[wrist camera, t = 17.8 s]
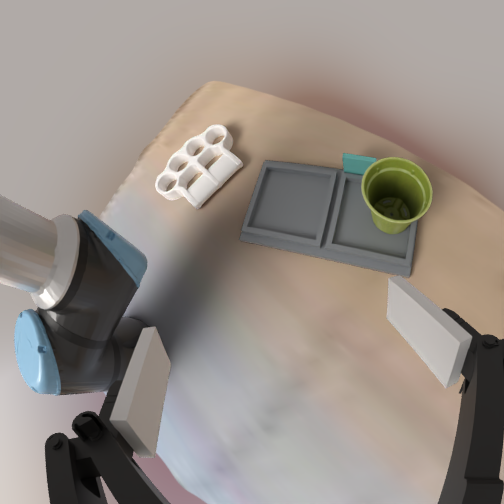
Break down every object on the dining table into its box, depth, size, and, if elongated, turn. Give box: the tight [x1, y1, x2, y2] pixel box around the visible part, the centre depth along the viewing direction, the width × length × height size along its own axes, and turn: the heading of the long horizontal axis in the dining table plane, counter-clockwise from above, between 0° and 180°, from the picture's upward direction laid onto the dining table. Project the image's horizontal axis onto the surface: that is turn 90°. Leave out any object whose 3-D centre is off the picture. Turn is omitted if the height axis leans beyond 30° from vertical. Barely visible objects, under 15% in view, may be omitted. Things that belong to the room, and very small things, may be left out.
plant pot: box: [361, 157, 433, 234], centre depth 36 cm, size 9×9×9 cm
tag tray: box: [239, 153, 418, 278], centre depth 42 cm, size 27×15×6 cm, turn 72°
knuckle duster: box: [155, 124, 243, 209], centre depth 54 cm, size 3×18×15 cm
